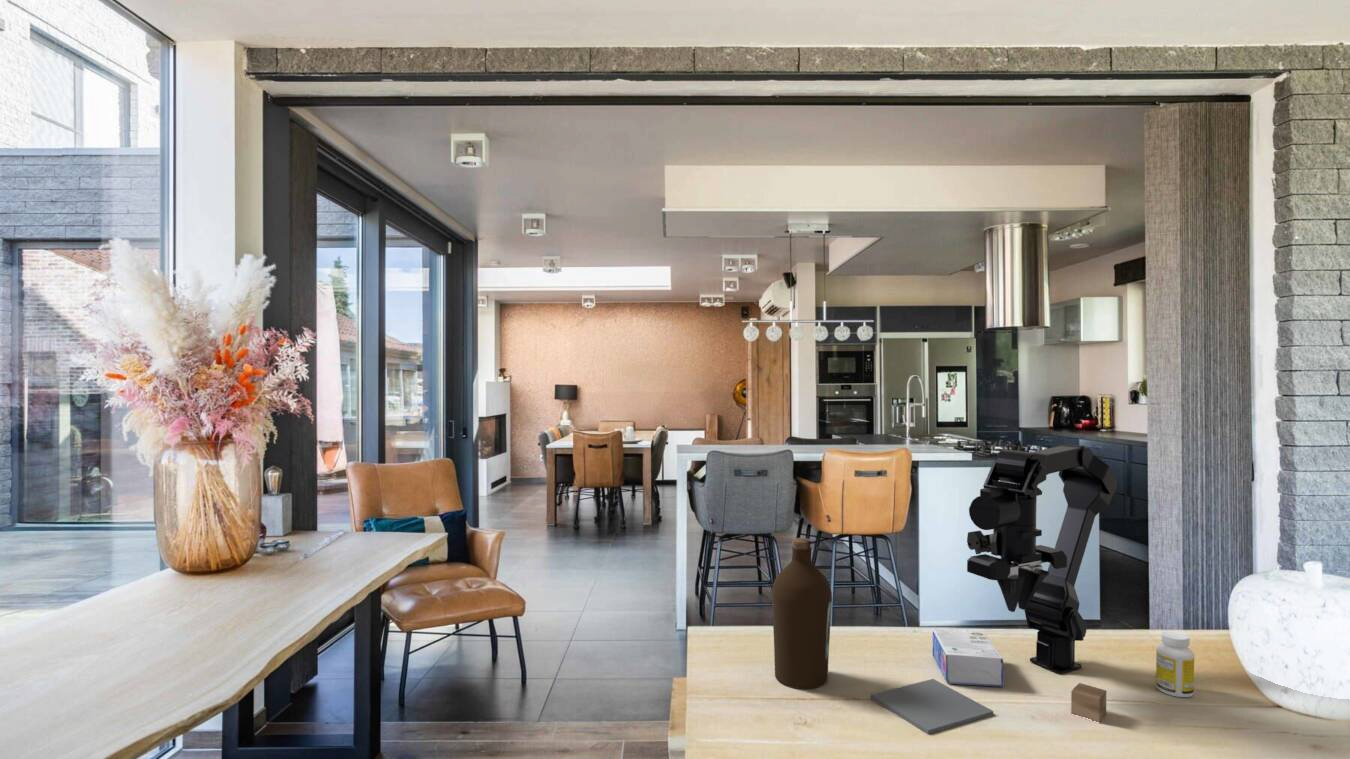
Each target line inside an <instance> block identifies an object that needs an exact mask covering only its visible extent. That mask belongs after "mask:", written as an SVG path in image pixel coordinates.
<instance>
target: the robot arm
mask: <svg viewBox="0 0 1350 759" xmlns="http://www.w3.org/2000/svg"><path fill="white" fill-rule="evenodd" d="M1054 473H1058V477H1059V478H1060V479H1061V481H1062V483H1063V489H1062V491H1063V495H1064V498H1065V501H1066V503H1067V506H1066V511H1065V514H1064V517H1063V520H1062V523H1061V527H1060V530H1059V532H1058V533H1059V534H1058V536H1057V539H1056V543H1055V545H1054V547H1050V546H1045V545H1043V544H1039V545H1038V544H1037V537H1042V535H1043V534H1042V532H1043V531H1042V529H1038V528H1037V499H1038V498H1037V497H1038V496H1043V495H1042V494H1043V490H1041V489H1040V488H1039V487H1038V485H1040V484H1042V483H1044V482H1045V481H1047V476H1048V475H1050V474H1054ZM982 486H983V488H980V490H979V496H976V497H975V498H973V500H972V501H971V502H970V505H969V507H968V514H969V517H970V520H971V521H972V523H973V524H974V526H976V527H977V528H979V529H981V530H975V531H968V532H967V537H966V538H967V539H966V542H967V547H968V549H969V550H970V551H973V550H974V551H975V555H972V556H970V557H969V558H968V559H966V572H967V573H970V574H972V575H974V576H975V575H976V576H979V577H982V578H984V579H988V580H991V581H997V583H998V586H999V588H1000V591H1001V594H1002V596H1003V599H1004V601H1005V605H1006V608H1007V610H1008V611H1009V612H1011V613H1015V611H1016V609H1017V607H1018V608H1019V609H1020V610H1023V611H1024V614H1025V620H1026V625H1027V628H1028V629H1033V630H1036V631H1037V633H1036V634H1037V636H1036V638H1037V639H1036V642H1035V643H1036V644H1035V645H1036V646H1035V650H1036V651H1035V656H1032V657H1030V658H1029V661H1030V662H1032V663H1034V664H1035V665H1038V666H1040V667H1043V668H1045V669H1047V670H1049V671H1052V672H1054V673H1055V674H1056V673H1057V674H1059V675H1060V674H1061V675H1062V674H1064V673H1068V672H1069V673H1070V672H1072V671H1075V670H1079V669H1082V668H1083V664H1082V663H1079V662H1077V661H1075V660H1076V659H1075V656H1076V655H1075V654H1076V652H1075V648H1076V647H1075V646H1076V642H1077V641H1079V642H1083V641H1084V638H1085V637H1086V634H1087V629H1088V624H1087V623H1086V621H1085V620H1084V619H1083V617H1082V615H1081V613H1080V612H1079V609H1080V600H1079V597H1078V594H1077V591H1076V588H1075V587H1076V586H1075V585H1076V583H1077V579H1078V575H1079V572H1080V568H1081V565H1082V561H1083V558H1084V555H1085V552H1086V548H1087V545H1088V542H1089V538H1090V535H1091V531H1092V529H1093V525H1094V521H1095V518H1096V516H1097V515H1098V514H1099V513H1101V512H1102V511H1104V510H1105V509H1106V508H1107V507H1108V506H1110V503H1111V500H1112V499H1113V495H1114V494H1115V493H1116V492H1117V488H1118V480H1117V477H1116V476H1115V474H1114V473H1113V470H1112V468H1111V467H1110V465H1108V464H1107V463H1106V462H1105V461H1103V460H1101V459H1100V458H1098V457H1097V456H1096V455H1094V453H1093V451H1092V449H1091V448H1090V447H1088V446H1086V445H1082V444H1081V445H1080V444H1069V443H1064V444H1059V445H1058V446H1054V447H1049V448H1045V449H1040V450H1035V451H1023V450H1022V451H1021V450H1011V449H1002V450H1000V451H998V453H997V455H996V457H995V458H994V460H993V462H992V465H991V467H990V469H989V472H988V474H987V476H986V478H985V481H984V483H983V485H982ZM982 530H983V531H990V530H993V532H992V533H990V534H984V533H983V532H982ZM982 553H983V554H982ZM984 553H985V554H984ZM986 553H990V554H991V555H989V554H986ZM995 556H996V557H995ZM997 556H999V557H1000V558H999V557H997ZM1044 563H1049V565H1048V569H1047V570H1045V569H1043V565H1042V564H1044Z"/></svg>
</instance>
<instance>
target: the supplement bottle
mask: <svg viewBox="0 0 1350 759" xmlns="http://www.w3.org/2000/svg"><path fill="white" fill-rule="evenodd" d="M1161 642H1162V643H1159V644H1158V645H1157V647H1156V649H1155V650H1156V655H1155V658H1156V659H1155V660H1156V664H1155V665H1156V666H1155V673H1156V674H1155V684H1156V689H1157V690H1158V691H1160V692H1162V693H1164V695H1165V694H1166V695H1168V696H1172V697H1176V698H1177V697H1178V698H1190V697H1193V696H1194V693H1195V653H1194V652H1193V650H1191V649H1190V648H1189V646H1190V636H1189V635H1188V634H1185V633H1183V632H1180V631H1174V630H1164V631H1162V632H1161Z"/></svg>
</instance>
